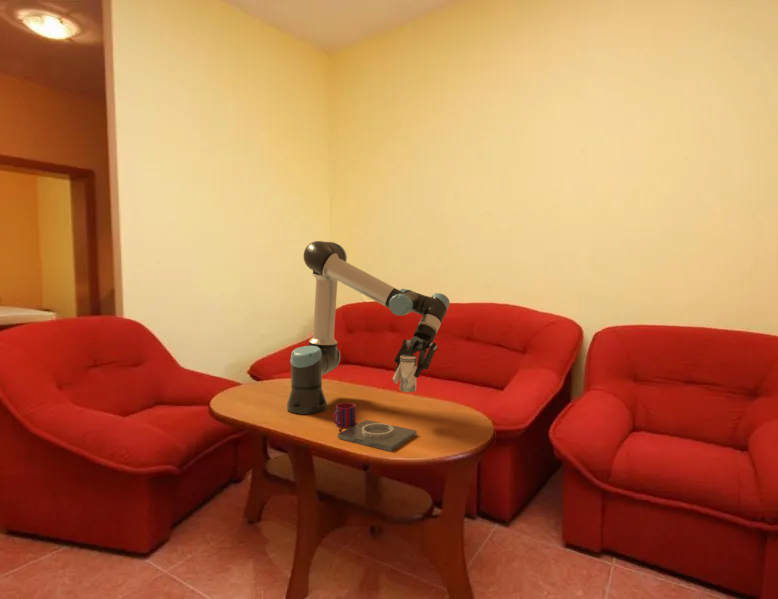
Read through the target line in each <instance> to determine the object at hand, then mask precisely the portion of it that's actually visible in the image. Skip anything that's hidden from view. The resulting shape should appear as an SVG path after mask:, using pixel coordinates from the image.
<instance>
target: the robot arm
mask: <svg viewBox="0 0 778 599" xmlns="http://www.w3.org/2000/svg"><path fill="white" fill-rule="evenodd" d="M347 258H348V257H347V252H346V250H345V249H344V247H342V246H341V245H340V244H338V243H335V242H332V241H323V240H322V241H321V240H316V241H313V242H310V243H309V244H307V246H306V247H305V249H304V251H303V261H304V263H305V266H307V267H308V269H309V270H312V275H313V277H315V278H314V279H315V291H314V292H315V295H314V314H313V329H312V330H313V332H312V337H311V338H310V339H309V340H308V345H304V346H299V347H296V348H294V349H293V350H292V352H291V355H290V360H289V361H290V380H291V381H290V382H291V383H290V384H291V385H290V386H291V390H290V393H289V395H288V400H287V403H286V410H287V411H288V410H289V411H290V412H289V411H288V412H289V413H291V412H293V413H292V414H296V413H298V414H297V415H309V414H310V415H311V414H316V413H320V412H323V411H325V410H327V408H328V407H327V405H328V404H327V403H328V402H327V399H326V395H325V393H324V391H323V385H322V384H323V378H322V377H323V376H324V375H326V374H329V373H331V372H332V371H333V370H335V369H336V368H337V367H338V365H339V363H340V362H341V352H340V349H338V341H337V340H336V339H335V328H336V326H335V324H336V308H337V292H338V282H340V283H341V284H343V285H345V286H347V287H349V288H351V289H353V290H354V291H357V292H358V293H360V294H362V295H364V296H366V297H368V298H370V299H371V300H373V301H375V302H377V303H379V304H380V305H382V306H384V307H386V308H387V309H389V310H390V312H391V313H392V314H393V315H395V316H407V315H408V314H410V313H415V314H418V315H420V316H422V317H421V318H420V320H419V322H418V325H417V327H416V329H415V330H414V332H413V336H412V337H411V339H406V338H405V339H403V340H402V345H401V347H400V349H399V351H398V352H397V355H396V356H395V358H394V363H395V364H396V367H395V369H394V375H393V377H392V381H393V382H394V384H398V383H399V382H400V356H401V355H407V354H408V355H415V354H416V353H417V352H418V360H417V364H416V366H415V367H414V369H413V371H412V373H411V376H410V378H409V380H408V383H409V385H410V386H412V387H413V384H414V382H415V380H416V381H417V378H419V377H420V375H421V373H422V372H423V370H426V371H427V370H429V367H430V365H431V363H432V360H433V357H434V355H435V353H436V352H437V350H438V349H439V347H438V346H437V343H436V342H434V341H435V338H436V336H437V334H438V331H439V329H440V327H441V325H442V323H443V321H444V319H445V316H446V314H447V313H448V309H449V306H450V299H449V298H448V296H446V295H445V294H443V293H441V292H440V293H439V292H438V293H437V292H435V293H433V294H432V296H428V295H424V294H422V293H419V292H416V291H413V290H412V289H407V288H401V289H400V290H399V289H398V288H396V287H394V286H392V285H390V284H389V283H386V282H385V281H383V280H381V279H379V278H377V277H375V276H374V275H372V274H370V273H367V272H366V271H364V270H362V269H361V268H358V267H356V266H355V265H352V264H351V263H349V262H347Z"/></svg>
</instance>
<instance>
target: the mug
mask: <svg viewBox="0 0 778 599" xmlns="http://www.w3.org/2000/svg"><path fill="white" fill-rule="evenodd" d="M335 406H336V407H335V411H334V413H333V417H332V420H333V423H334V424H335V425H336V426H337V427H338V428H341V427H343V428H342V429H349V428H351V427H353V426H355V425H357V423H356V419H357V418H356V410H357V409H356V404H355V403H352V402H340V403H338V404H336V405H335ZM348 427H349V428H348Z"/></svg>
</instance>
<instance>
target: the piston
mask: <svg viewBox="0 0 778 599" xmlns="http://www.w3.org/2000/svg"><path fill="white" fill-rule="evenodd" d="M417 362H418V360H417V355H415V354H413V355H408V354H407V355H401V356H400V379H399V391H400V392H403V393H414V392H416V391H417V379H416V380H415V382H414V384H413V387H412V386H410V385H409V383H408V380H409V378H410V376H411V373H412V371H413V369H414V367H415V366H417Z"/></svg>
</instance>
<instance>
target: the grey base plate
mask: <svg viewBox="0 0 778 599" xmlns="http://www.w3.org/2000/svg"><path fill="white" fill-rule="evenodd" d="M417 431H418V430H416V429H413V428H412V429H411V428H406V427H401V426H398V425H392V424H389V423H388V424H387V423H382V422H378V421H373V420H368V419H366V420H363V421H361V422H359V423H356V424H355V426H353V427H349V428H346V429H345V430H343V431H341V432H339V433H337V439H338V438H339V439H338V440H342V439H343V440H342V441H346V442H350V441H351V443H354V442H355V444H360V445H361V446H362V445H363V446H366V445H367V447H370V446H371V447H372V448H374V447H375V449H378V448H379V450H383V449H384V451H387V452H393V451H394V450H396V449H397V448H399V447H400V446H402V445H404V444H405V443H407V442H408V441H410V440H412V439H413V438H414V437H416V436H417V433H418V432H417ZM415 435H416V436H415ZM412 437H413V438H412ZM409 439H410V440H409ZM406 441H407V442H406ZM371 447H370V448H371ZM392 450H393V451H392Z"/></svg>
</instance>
